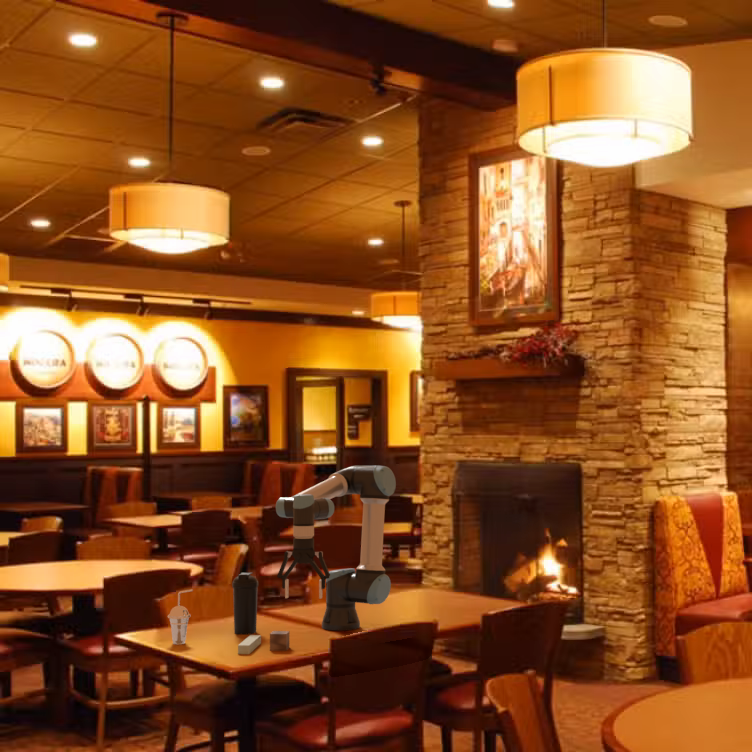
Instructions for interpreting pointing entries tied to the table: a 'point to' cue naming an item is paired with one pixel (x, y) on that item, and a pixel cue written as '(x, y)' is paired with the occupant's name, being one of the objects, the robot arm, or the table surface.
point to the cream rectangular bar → (249, 644)
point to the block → (279, 641)
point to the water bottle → (245, 603)
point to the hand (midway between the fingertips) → (303, 597)
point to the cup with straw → (179, 621)
